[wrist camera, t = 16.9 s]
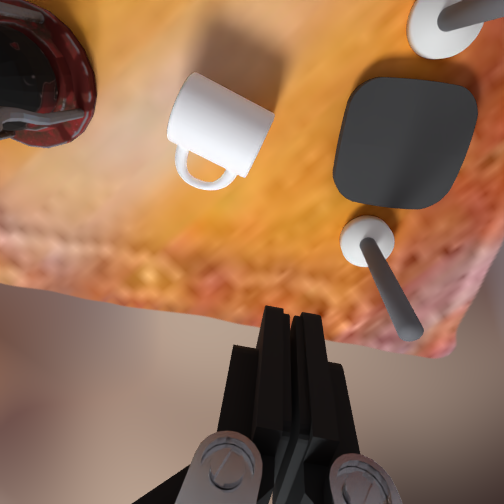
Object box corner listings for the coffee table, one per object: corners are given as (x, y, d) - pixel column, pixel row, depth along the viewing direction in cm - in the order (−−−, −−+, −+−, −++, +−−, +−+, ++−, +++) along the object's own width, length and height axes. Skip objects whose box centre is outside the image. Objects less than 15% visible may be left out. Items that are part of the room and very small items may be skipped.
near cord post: (420, -25, 35) (558, -127, 17) (488, -14, 35) (698, -106, 17) (397, 53, 38) (492, 35, 20) (459, 64, 38) (609, 55, 20)
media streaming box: (351, 72, 40) (356, 72, 37) (479, 87, 39) (493, 87, 37) (326, 193, 46) (329, 200, 44) (434, 206, 46) (444, 215, 43)
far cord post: (347, 211, 47) (385, 293, 29) (397, 220, 47) (466, 308, 29) (333, 255, 50) (360, 353, 32) (380, 263, 50) (433, 366, 32)
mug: (201, 71, 41) (184, 70, 34) (276, 111, 42) (274, 118, 35) (169, 162, 46) (148, 178, 39) (236, 195, 47) (227, 216, 40)
